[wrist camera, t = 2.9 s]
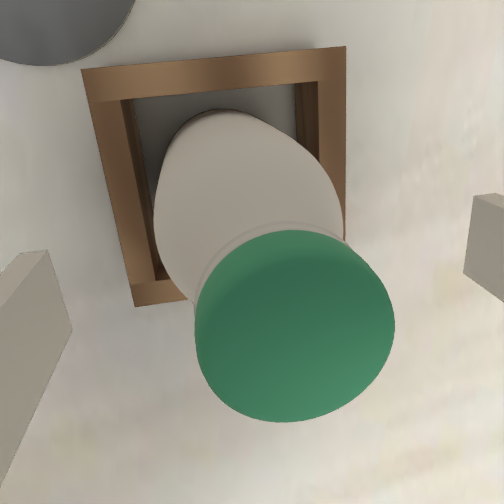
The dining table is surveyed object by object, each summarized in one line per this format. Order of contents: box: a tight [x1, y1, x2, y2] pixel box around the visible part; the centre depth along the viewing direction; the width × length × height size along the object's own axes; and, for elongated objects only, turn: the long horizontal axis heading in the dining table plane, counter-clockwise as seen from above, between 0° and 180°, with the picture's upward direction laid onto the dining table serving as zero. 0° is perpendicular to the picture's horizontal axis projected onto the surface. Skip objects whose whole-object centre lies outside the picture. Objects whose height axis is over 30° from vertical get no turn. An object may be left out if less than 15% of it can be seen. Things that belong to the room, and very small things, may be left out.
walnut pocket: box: [81, 46, 346, 307], centre depth 25 cm, size 13×13×5 cm
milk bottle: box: [153, 109, 395, 422], centre depth 18 cm, size 8×8×20 cm
